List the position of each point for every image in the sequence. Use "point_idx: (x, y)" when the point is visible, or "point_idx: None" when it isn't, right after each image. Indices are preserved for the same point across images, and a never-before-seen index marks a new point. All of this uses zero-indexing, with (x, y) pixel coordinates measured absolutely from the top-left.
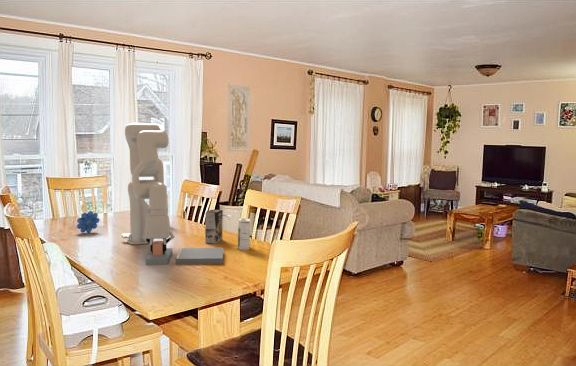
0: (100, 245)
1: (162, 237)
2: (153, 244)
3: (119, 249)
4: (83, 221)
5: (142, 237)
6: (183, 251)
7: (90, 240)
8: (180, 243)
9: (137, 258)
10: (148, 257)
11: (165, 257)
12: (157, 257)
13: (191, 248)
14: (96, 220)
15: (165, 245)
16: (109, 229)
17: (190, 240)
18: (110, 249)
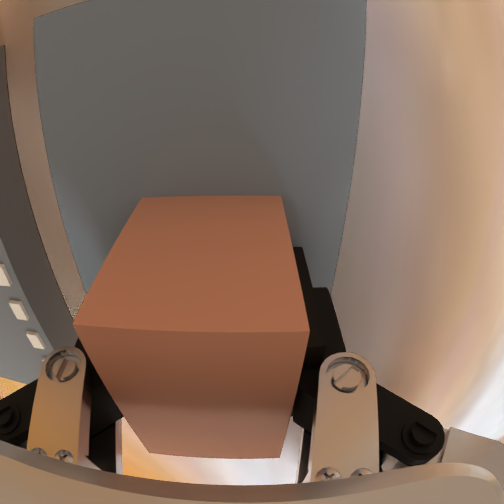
0: (491, 416)
1: (15, 476)
2: (286, 326)
3: (458, 401)
4: None
5: (500, 455)
6: (7, 320)
7: (488, 436)
8: (173, 464)
9: (422, 264)
10: (335, 80)
11: (67, 83)
12: (184, 70)
13: (12, 374)
14: None
15: (81, 348)
16: None
17: (148, 475)
18: (487, 393)
